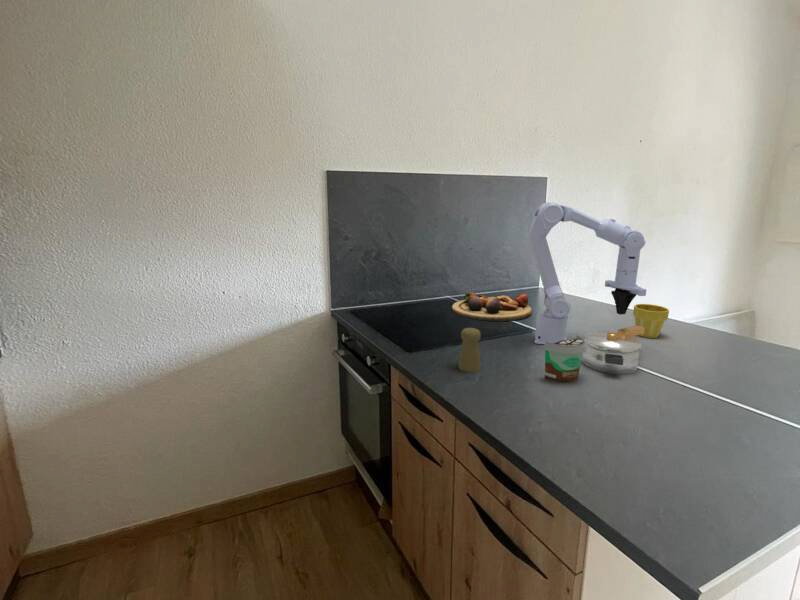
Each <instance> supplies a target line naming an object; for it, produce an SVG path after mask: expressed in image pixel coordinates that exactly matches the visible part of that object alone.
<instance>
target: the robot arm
mask: <svg viewBox="0 0 800 600" xmlns="http://www.w3.org/2000/svg"><path fill="white" fill-rule="evenodd" d="M560 222H562V223H564V222H565V223H566V222H572V223H575V224H577V225H580V226H582V227H585V228H588V229H589V230H593V231H594V233H595V236H596V237H598V238H600V239H601V240H604V241H606V242H608V243H611V244H613V245H615V246H618V247H619V248H618V255H617V264H616V269H615V270H616V271H615V278H614V280H609V279H608V280H605V281H604V287H607V288H612V289H614V290H611V296H612V298H613V299H614V304H615V309H616V314H617V315H626V313H627V310H628V308H629V307H630V305H631V303H632V301H633V300H634V299H635V298H636V296H638V297H646V296H647V289H646V288H643V287H640V286H638V284H637V279H638V278H637V277H638V271H639V263H640V255H641V250H642V249H643V248H644V247H645V245H646V240H645V237H644V235H643V233H641V232H640V231H637V230H636V231H635V230H632V229H631V226H628V225H626V226H625V225H622V224H619V223H617V222H616V219H614V218H610V219H609V218H605V219H602V220H599V219H597V218H594V217H592V216H590V215H588V214H586V213H584V212H582V211H579V210H578V209H575V208H573V207H569V206H565V205H562V204H559V203H557V202H544V203H542V204H540V205H539V206H538V207H537V208H536V210H535V212H534V213H533V216H532V220H531V223H530V226H529V230H528V234H527V236H528V240H529V242H530V246H531V249H532V252H533V256H534V260H535V262H536V265H537V270H538V273H539V277H540V280H541V284H542V286H543V293H544V299H543V304H544V306H545V308H546V309H544V312H543V313H537V314H536V315H537V316H536V324H535V330H534V344H540V345H544V344H545V342H549V343H556V342H559V341H561V340H567V337H566V336H567V328H568V327H567V326H568V318H569V316H568V315H569V313H570V311H571V304H570V302H569V300H568V299H566V298H565V295H564V292H563V290H562V287H561V285H560V281H559V278H558V274H557V271H556V268H555V264H554V262H553V257H552V255H551V251H550V247H549V243H548V241H547V236H548V234H549V233H550V232H551V230H552V229H553V228H554V227H555V226H556V225H557V224H559V223H560Z"/></svg>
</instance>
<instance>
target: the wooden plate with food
mask: <svg viewBox="0 0 800 600" xmlns="http://www.w3.org/2000/svg"><path fill="white" fill-rule="evenodd" d="M462 298H463V300H459V301H456V302H455V303H453V304H452V306H451V311H452V312H453V313H454V314H455V315H458V316H461V317H463V318H467V319H470V320H471V319H472V320H477V321H488V322H491V321H492V322H506V321H507V322H508V321H509V322H510V321H517V320H521V319H524V318H527V317H529V316H530V315H532V313H533V311H532V310H533V309H532V307H531V306H529V305H528V303H529V297H528V295H527V294H526V293H522V294H519V295H517V296H516V297H514V300H513V299H512V298H510V296H508V295H504V294H503V295H499V296H496V297H495V296H490V297H489V296H486V295H483V294H479V295H478V296H477V295H476V294H475V292H474V291H468V292H465V293H464V295H463V297H462Z"/></svg>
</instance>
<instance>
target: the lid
mask: <svg viewBox="0 0 800 600" xmlns="http://www.w3.org/2000/svg"><path fill="white" fill-rule="evenodd" d="M644 330H645V328H644V327H641V326H635V325H633V326H628V327H624V328H620V329H617V332H614V331H602V330H599V331H598V330H597V331H588V332H585V333H584V334H583V336H582V338H583V339H584V340H585V343H586V344H587V345H589V346H591V347H594V348H597V349H601V350H605V351H611V352H620V353H630V352H637V351H639V350H640V351H641V350H642V346H643V342H642V341H641V340H639V339H638V338H636V337H635V336H639V335H640V334H644ZM640 351H639V352H640Z"/></svg>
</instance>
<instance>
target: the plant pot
mask: <svg viewBox="0 0 800 600" xmlns="http://www.w3.org/2000/svg"><path fill="white" fill-rule="evenodd" d="M632 311H633V312H632V315H633V316H634V322H635V323H634V324H635V325H634V326H641V327H644V328H645V330H644V334H640V335H638V336H640V337H643V338H649V339H656V338H658V337H659V335H660V333H661V330H662V328H663V326H664V324H665V321H667V320H668V318H669V313H670V309H669V308H667V307H664V306H663V305H662V306H661V305H658V304H651V303H650V304H649V303H636V304H634V306H633V310H632Z"/></svg>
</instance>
